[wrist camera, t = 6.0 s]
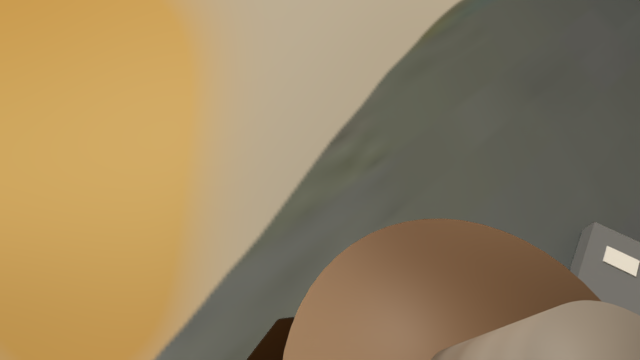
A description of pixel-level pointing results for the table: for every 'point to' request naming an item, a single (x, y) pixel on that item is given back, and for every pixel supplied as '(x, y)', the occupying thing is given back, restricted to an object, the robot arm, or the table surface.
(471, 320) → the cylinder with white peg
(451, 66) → the table surface
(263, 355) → the robot arm
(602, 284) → the grey flat block
